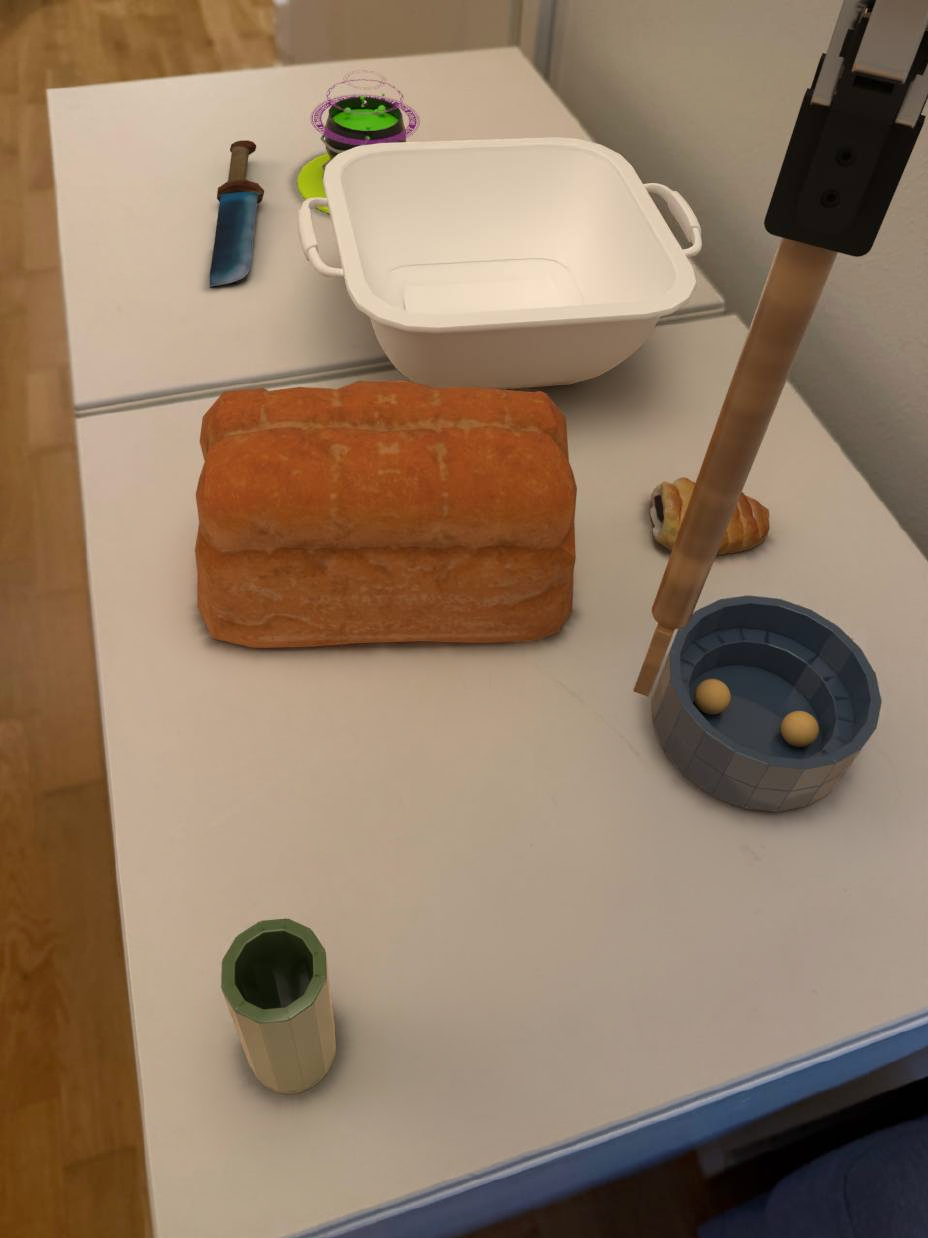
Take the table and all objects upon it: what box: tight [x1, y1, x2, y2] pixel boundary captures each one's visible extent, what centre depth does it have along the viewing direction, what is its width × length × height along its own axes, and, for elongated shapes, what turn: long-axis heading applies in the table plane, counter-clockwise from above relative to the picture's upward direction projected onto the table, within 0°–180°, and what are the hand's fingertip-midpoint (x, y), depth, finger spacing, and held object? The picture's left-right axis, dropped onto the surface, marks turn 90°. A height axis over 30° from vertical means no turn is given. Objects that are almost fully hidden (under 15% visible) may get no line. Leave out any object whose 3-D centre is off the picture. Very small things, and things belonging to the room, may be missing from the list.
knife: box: [209, 140, 265, 287], centre depth 103 cm, size 24×3×5 cm
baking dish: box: [297, 136, 703, 390], centre depth 89 cm, size 34×28×13 cm
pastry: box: [649, 476, 770, 556], centre depth 79 cm, size 9×7×4 cm
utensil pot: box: [220, 918, 337, 1095], centre depth 49 cm, size 5×5×12 cm
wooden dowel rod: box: [633, 12, 872, 698], centre depth 38 cm, size 2×2×30 cm
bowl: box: [651, 595, 882, 812], centre depth 66 cm, size 13×13×6 cm
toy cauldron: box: [296, 69, 421, 215], centre depth 106 cm, size 15×15×11 cm
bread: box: [194, 380, 578, 649], centre depth 69 cm, size 14×27×15 cm, turn 94°
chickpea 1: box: [694, 679, 731, 714], centre depth 68 cm, size 2×2×2 cm
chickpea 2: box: [781, 711, 819, 747], centre depth 67 cm, size 2×2×2 cm
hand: (823, 216), depth 31 cm, fingers closed on wooden dowel rod, 1 cm apart
